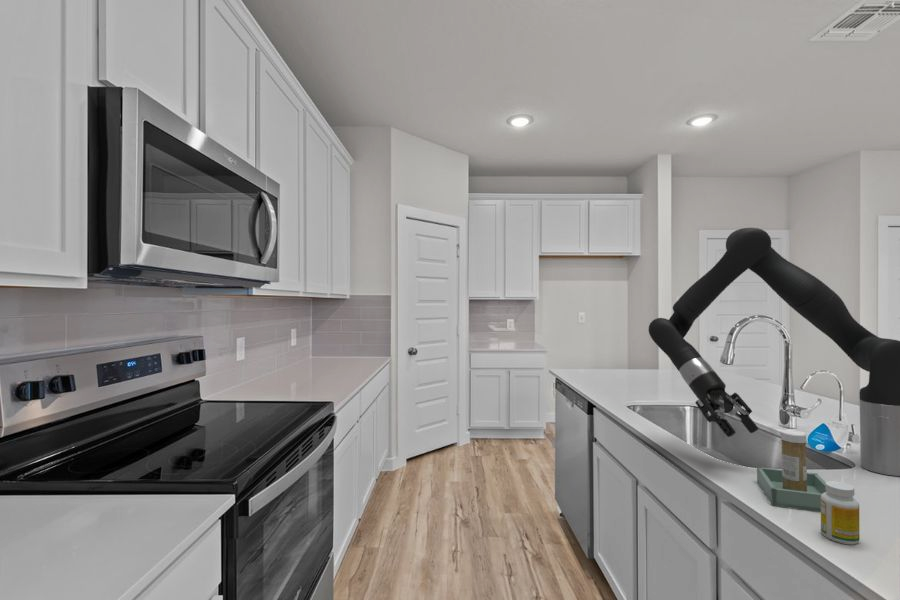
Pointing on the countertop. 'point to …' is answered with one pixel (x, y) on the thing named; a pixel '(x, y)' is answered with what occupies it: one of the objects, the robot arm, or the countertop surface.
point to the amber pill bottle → (794, 460)
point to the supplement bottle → (840, 513)
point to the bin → (781, 497)
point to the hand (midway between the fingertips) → (743, 433)
